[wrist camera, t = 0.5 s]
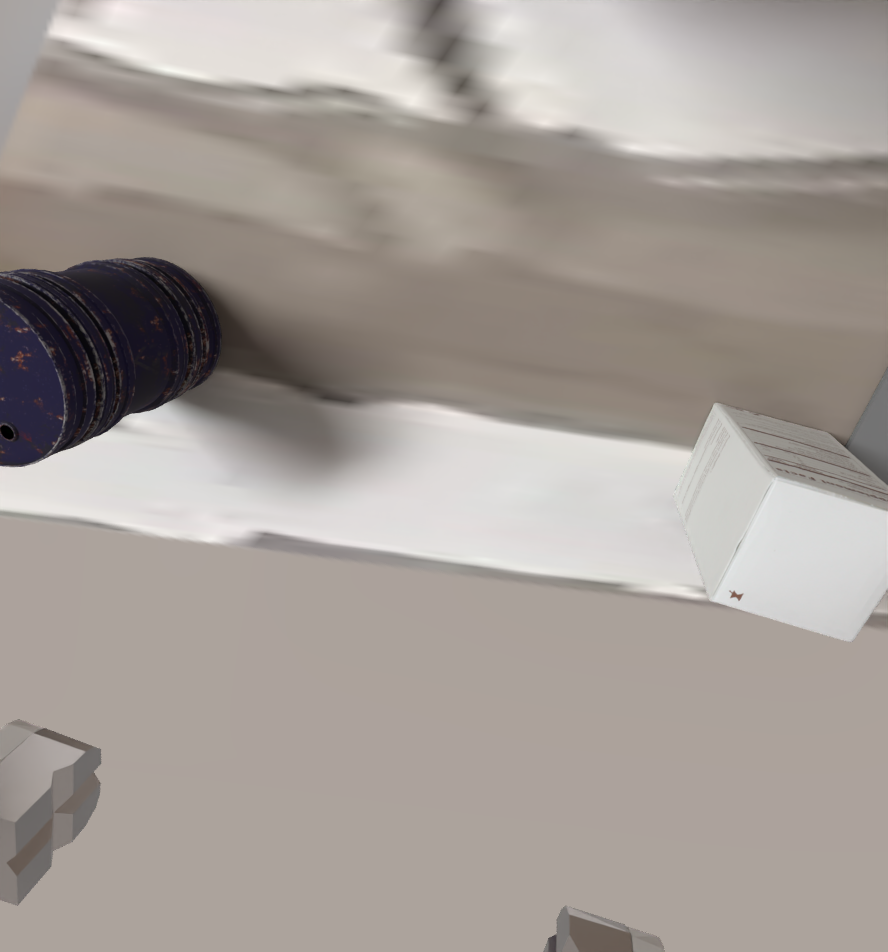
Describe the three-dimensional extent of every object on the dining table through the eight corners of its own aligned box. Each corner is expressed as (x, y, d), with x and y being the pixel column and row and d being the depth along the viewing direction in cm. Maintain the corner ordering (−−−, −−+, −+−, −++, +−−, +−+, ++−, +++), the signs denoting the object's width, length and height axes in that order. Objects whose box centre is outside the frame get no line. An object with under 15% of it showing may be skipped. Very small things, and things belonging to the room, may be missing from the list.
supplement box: (776, 528, 41) (852, 650, 30) (669, 496, 42) (703, 603, 31) (832, 430, 38) (940, 525, 27) (715, 396, 39) (772, 476, 27)
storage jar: (76, 271, 44) (-143, 300, 30) (192, 240, 41) (7, 256, 28) (132, 403, 47) (-43, 481, 34) (242, 381, 45) (99, 456, 31)
